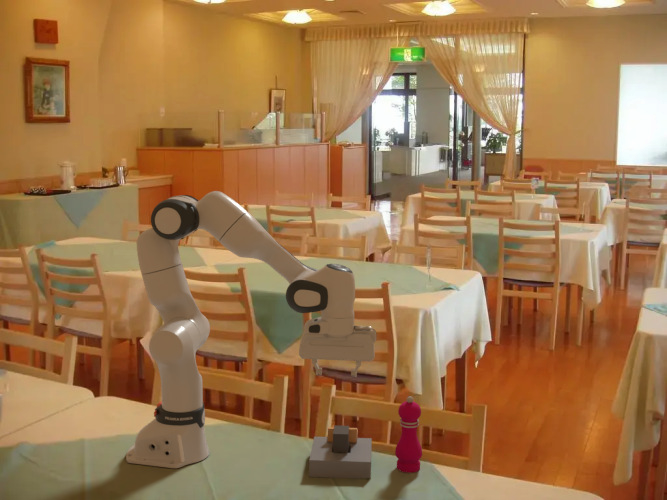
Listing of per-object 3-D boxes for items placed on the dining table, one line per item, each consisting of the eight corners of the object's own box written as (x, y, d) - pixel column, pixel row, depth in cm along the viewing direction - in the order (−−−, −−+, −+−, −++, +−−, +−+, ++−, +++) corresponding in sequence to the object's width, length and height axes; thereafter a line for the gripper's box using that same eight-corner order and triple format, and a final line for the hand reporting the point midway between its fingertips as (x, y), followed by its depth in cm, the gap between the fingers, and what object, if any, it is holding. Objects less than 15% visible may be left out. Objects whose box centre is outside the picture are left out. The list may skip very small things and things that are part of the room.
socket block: (309, 476, 211) (309, 460, 211) (314, 452, 227) (314, 436, 226) (370, 478, 210) (370, 462, 210) (371, 453, 226) (371, 438, 225)
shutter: (327, 441, 222) (327, 428, 222) (329, 430, 230) (329, 418, 230) (356, 442, 222) (357, 429, 221) (357, 431, 230) (357, 418, 229)
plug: (332, 469, 216) (333, 433, 214) (334, 460, 222) (334, 425, 220) (347, 470, 216) (348, 434, 214) (348, 460, 222) (349, 425, 220)
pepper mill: (420, 474, 213) (422, 402, 210) (393, 472, 214) (394, 399, 211) (423, 463, 220) (425, 393, 217) (396, 461, 221) (398, 391, 218)
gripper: (377, 323, 218) (375, 373, 220) (301, 320, 219) (300, 370, 221) (376, 329, 211) (374, 380, 214) (298, 326, 213) (297, 377, 215)
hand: (336, 375), depth 217 cm, fingers open, 8 cm apart
